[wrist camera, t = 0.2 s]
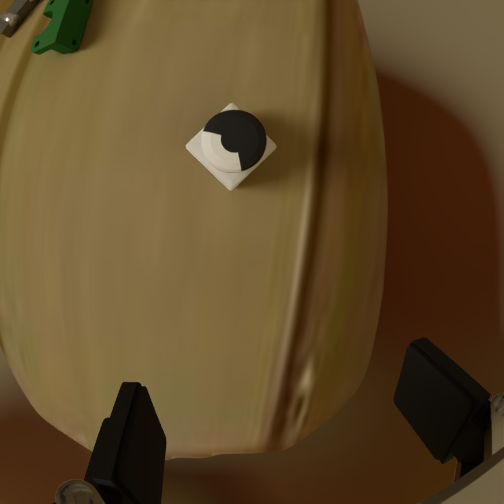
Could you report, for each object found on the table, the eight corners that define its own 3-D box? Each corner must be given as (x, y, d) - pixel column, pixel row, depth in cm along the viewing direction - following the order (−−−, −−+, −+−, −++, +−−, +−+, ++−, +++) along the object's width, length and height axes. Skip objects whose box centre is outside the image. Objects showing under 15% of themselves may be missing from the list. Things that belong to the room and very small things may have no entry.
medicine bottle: (229, 114, 35) (235, 87, 23) (267, 152, 37) (289, 141, 25) (189, 152, 35) (178, 140, 24) (228, 189, 37) (234, 194, 26)
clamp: (76, 24, 30) (54, -7, 21) (102, 14, 29) (81, -20, 20) (44, 71, 28) (14, 39, 19) (70, 60, 28) (39, 23, 19)
